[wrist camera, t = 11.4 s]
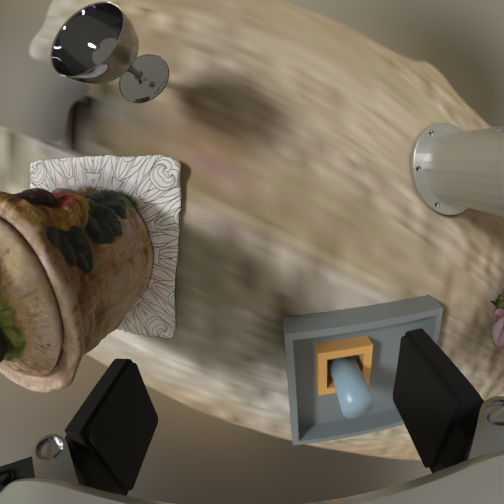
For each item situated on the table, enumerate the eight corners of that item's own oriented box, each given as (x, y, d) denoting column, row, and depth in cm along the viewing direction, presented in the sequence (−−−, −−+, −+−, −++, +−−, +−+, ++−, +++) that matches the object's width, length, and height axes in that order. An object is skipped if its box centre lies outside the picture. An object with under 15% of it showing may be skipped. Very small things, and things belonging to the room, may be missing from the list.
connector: (355, 348, 40) (375, 392, 30) (353, 369, 40) (372, 414, 31) (327, 352, 40) (342, 398, 30) (327, 374, 41) (341, 420, 31)
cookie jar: (180, 336, 41) (89, 541, 10) (46, 309, 41) (-82, 417, 10) (186, 155, 35) (-64, 125, 4) (37, 159, 35) (-145, 180, 4)
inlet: (367, 335, 39) (373, 344, 37) (364, 376, 41) (368, 386, 38) (315, 343, 39) (318, 353, 37) (316, 384, 41) (318, 395, 39)
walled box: (428, 295, 38) (443, 307, 34) (409, 403, 44) (418, 419, 39) (282, 317, 40) (283, 334, 35) (291, 426, 45) (292, 445, 41)
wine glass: (157, 111, 33) (99, 81, 19) (107, 100, 33) (38, 73, 18) (181, 57, 31) (138, 2, 17) (130, 48, 31) (73, 2, 16)
